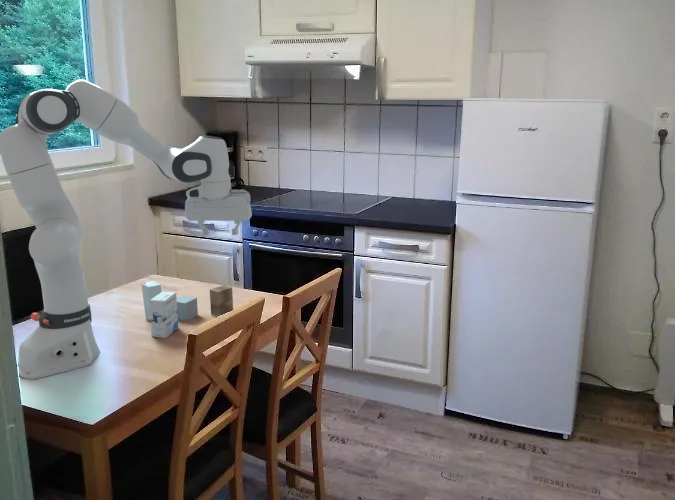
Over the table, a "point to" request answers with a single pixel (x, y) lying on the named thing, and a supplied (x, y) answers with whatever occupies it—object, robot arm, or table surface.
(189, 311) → the slate block
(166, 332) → the ink box
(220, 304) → the walnut block
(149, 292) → the skincare box
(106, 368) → the table surface
